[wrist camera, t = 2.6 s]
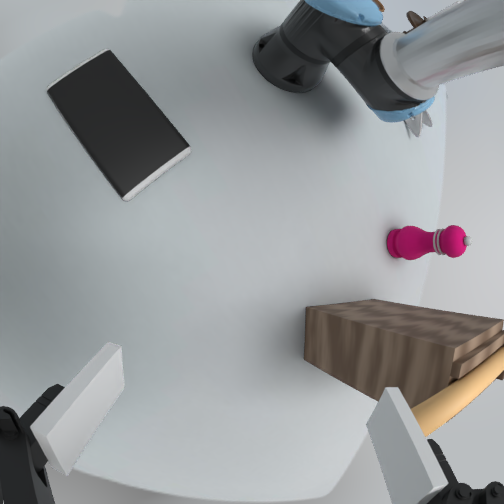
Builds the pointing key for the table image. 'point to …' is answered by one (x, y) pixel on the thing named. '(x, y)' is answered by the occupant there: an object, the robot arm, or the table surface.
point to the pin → (458, 394)
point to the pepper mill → (427, 242)
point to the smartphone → (117, 123)
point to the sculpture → (419, 122)
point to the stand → (398, 346)
